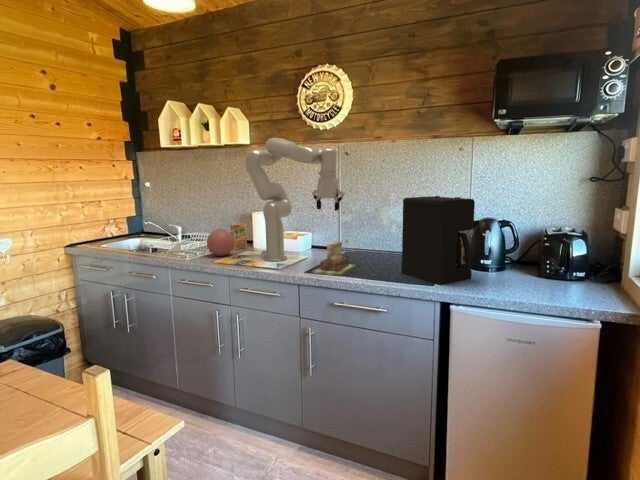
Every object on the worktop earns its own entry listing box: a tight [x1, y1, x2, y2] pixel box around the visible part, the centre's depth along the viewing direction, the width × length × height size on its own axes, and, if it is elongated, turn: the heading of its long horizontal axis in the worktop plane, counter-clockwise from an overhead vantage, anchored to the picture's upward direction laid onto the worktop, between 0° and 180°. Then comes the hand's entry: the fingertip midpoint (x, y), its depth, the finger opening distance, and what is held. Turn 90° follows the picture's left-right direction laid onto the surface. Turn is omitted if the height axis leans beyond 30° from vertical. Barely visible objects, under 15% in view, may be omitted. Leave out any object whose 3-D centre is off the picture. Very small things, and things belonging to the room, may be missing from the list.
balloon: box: [206, 228, 235, 257], centre depth 238 cm, size 15×20×15 cm
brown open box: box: [312, 256, 357, 277], centre depth 199 cm, size 14×20×5 cm
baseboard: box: [166, 240, 190, 254], centre depth 262 cm, size 31×3×12 cm
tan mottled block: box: [326, 241, 343, 262], centre depth 198 cm, size 4×8×12 cm, turn 153°
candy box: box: [230, 223, 248, 251], centre depth 257 cm, size 9×4×15 cm, turn 126°
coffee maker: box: [401, 195, 476, 286], centre depth 181 cm, size 28×20×35 cm
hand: (327, 209), depth 204 cm, fingers open, 9 cm apart
